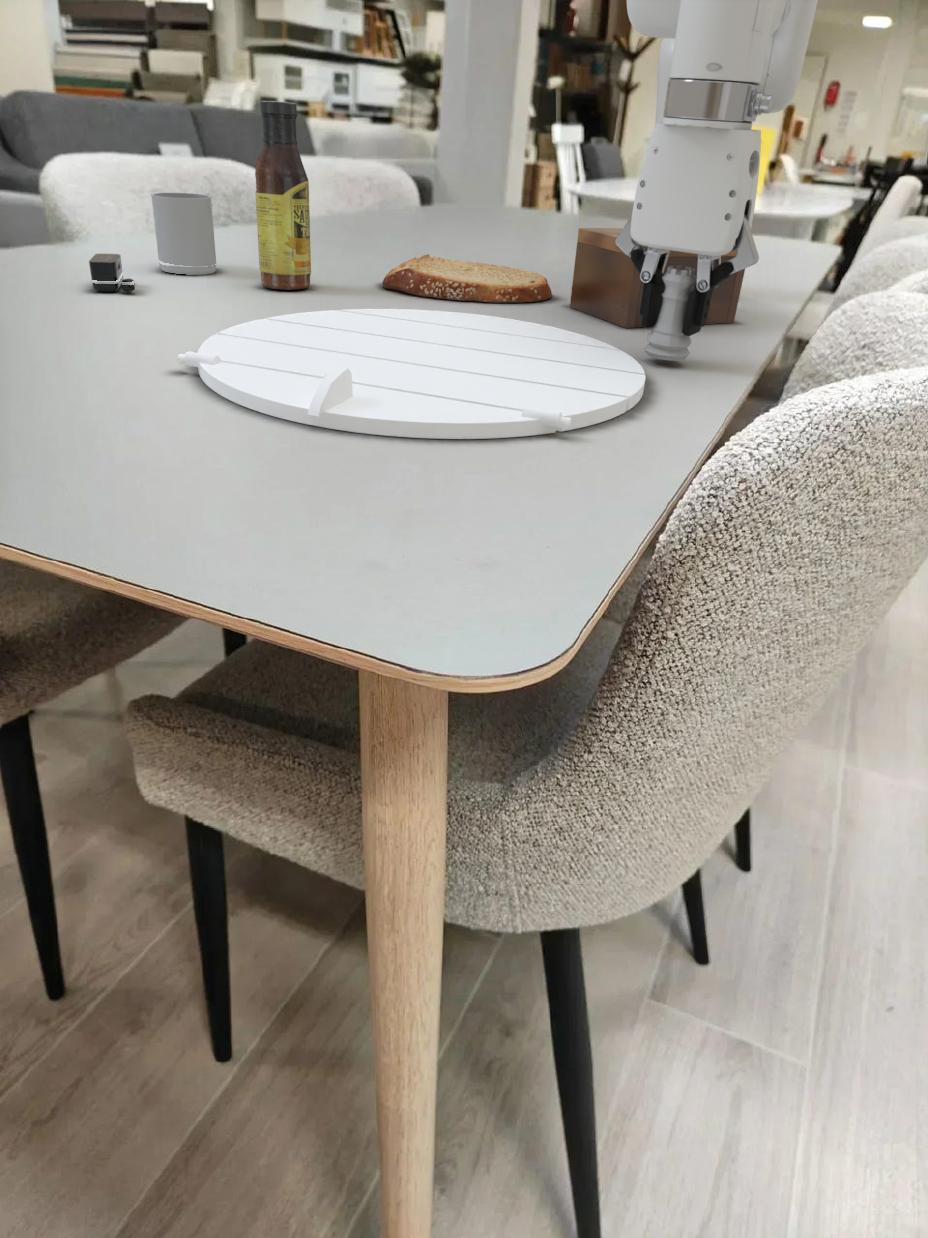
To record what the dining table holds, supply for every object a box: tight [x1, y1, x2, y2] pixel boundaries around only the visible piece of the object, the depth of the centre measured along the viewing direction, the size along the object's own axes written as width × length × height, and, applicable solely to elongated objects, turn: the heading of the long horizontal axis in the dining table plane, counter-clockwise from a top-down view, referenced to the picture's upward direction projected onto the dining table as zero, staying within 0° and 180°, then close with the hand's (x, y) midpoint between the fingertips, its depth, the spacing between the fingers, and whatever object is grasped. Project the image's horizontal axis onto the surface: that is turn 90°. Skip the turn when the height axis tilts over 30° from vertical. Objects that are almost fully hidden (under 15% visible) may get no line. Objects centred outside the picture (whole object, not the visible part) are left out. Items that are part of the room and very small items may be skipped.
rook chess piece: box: [643, 266, 697, 361], centre depth 82 cm, size 4×4×8 cm
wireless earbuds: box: [88, 253, 136, 293], centre depth 99 cm, size 5×7×3 cm, turn 13°
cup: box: [150, 192, 217, 276], centre depth 112 cm, size 7×10×9 cm
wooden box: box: [569, 227, 746, 329], centre depth 103 cm, size 12×16×9 cm
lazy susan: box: [176, 308, 647, 440], centre depth 76 cm, size 40×39×3 cm
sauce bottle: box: [254, 100, 312, 291], centre depth 102 cm, size 6×6×20 cm
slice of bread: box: [381, 253, 553, 304], centre depth 110 cm, size 18×18×4 cm
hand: (670, 327), depth 82 cm, fingers closed on rook chess piece, 3 cm apart
